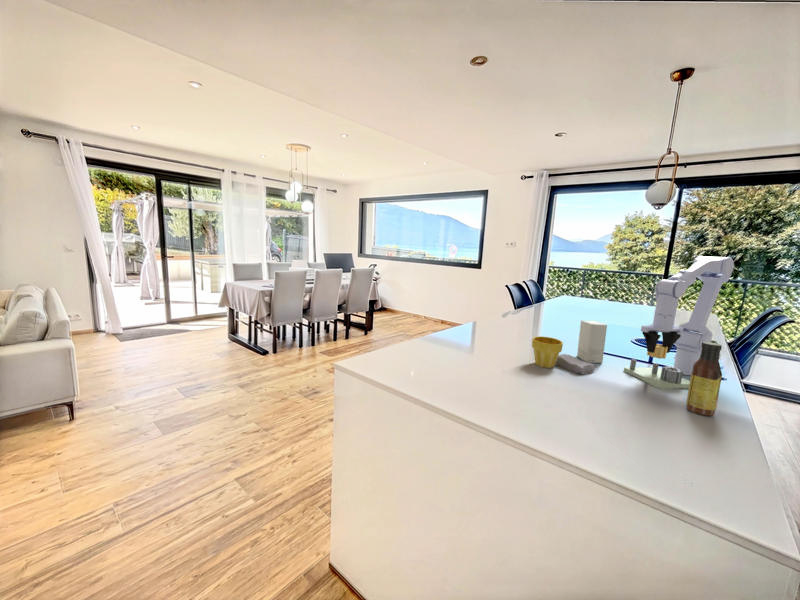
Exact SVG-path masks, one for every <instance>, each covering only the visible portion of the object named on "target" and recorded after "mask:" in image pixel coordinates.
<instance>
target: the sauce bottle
mask: <svg viewBox="0 0 800 600" xmlns="http://www.w3.org/2000/svg"><path fill="white" fill-rule="evenodd" d="M701 347H702V351H701V355H700V358H699V360H698V361H696V362H695V363H694V365H693V370H692V373H691V375H690V380H689V381H690V385H689V388H688V392H687V397H686V404H685V407H686V409H688V411H690V412H692V413H695V414H698V415H701V416H707V417H712V416H714V414H715V411H716V410H717V404H718V399H719V394H720V391H721V390H720V388H721V383H722V378H723V373H722V369H721V365H720V361H719V360H720V358H719V357H720V353H721V350H722V348H723V347H722V345H721V344H720V343H716V342H712V341H711V342H702V345H701Z"/></svg>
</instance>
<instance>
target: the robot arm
mask: <svg viewBox="0 0 800 600" xmlns="http://www.w3.org/2000/svg"><path fill="white" fill-rule="evenodd" d="M734 268H735V263H734V259H733V258H732V257H730V256H727V257H726V256H706V255H705V256H703V255H698V256H697V257H696V258H694V260H693V263H692V265H691V266H690V267H688V269H680V270H678V272H676V273H675V274H673V275H672V276H671V277H669V278H667V279H665V278H664V279H661V280H659V281H658V282H657V283H656V286H655V287H654V291H655V300H656V302H655V303H656V305H655V310H654V315H653V320H652V321H653V322H652V323H651V324H647V325H641V328H640V331H641V332H642V335H643V337H644V340H645V345H646V351H649V352H651V353H654V351H655V347H656V344H658V341H659V340H660V338H661V335H662V344H661V345H663V346H667V347H668V349H667V353H666V354H669V353H670V351H671V349H672V347H673V346H674V345H675V347H676V352H675V358H674V363H673V366H671V365H670V366H669V365H667V366H666V367H674V368H676V369H680V370H681V371H683V375H685V376H691V373H692V370H693V365H694V363H695V362H696V361H698V360H699V358H700V355H701V351H702V347H701V345H702V342H712V337H713V333H712V331H711V330H710V329H709V327H707V326H706V325H707V323H708V321H709V319H710V315H711V313H712V311H713V308H714V305H715V304H716V300H717V298H718V295H719V293H720V291H721V288H722V285H723V284H724V283H728V282H729V280H730V278H731V277H732V273H733V271H734ZM696 279H698V280H700V281H702V282H703V285H702V286H701V290H700V292H699V295H698V297H697V299H696V301H695V305H694V307H693V308H692V309H693V310H692V313H691V314H690V318H689V320H688V321H687V322H685V323H682V324H679V326H674V325H675V320H676V315H677V310H678V309H677V308H678V305H679V299H680V298H682V297H683V295H684V294H685V292H686V291H687V288H688V287H690V286H691V285H693V284H694V283H695V282H696ZM658 333H661V334H658Z"/></svg>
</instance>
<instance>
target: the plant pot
mask: <svg viewBox="0 0 800 600" xmlns="http://www.w3.org/2000/svg"><path fill="white" fill-rule="evenodd" d="M531 342H532V343H531V346H532V347H531V348H533V356H534V364H535V365H536V366H538V367H540V368H546V369H552V368H554V367H555V363H556V360H557V358H558V355H560V353H561V352H562V350H563V347H564V346H563V345H564V343H563V342H562V341H561V340H560V339H558V338H554V337H549V336H542V335H541V336H534V337H532V341H531Z"/></svg>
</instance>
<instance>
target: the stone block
mask: <svg viewBox="0 0 800 600" xmlns="http://www.w3.org/2000/svg"><path fill="white" fill-rule="evenodd" d="M555 365H556V366H557V367H560V368H563V369H565V370H568V371H570V372H572V373H574V374H578V375H581V374H582V375H585V373H586V374H591V373H593V372H594V370H595V363H589V362H586V361H584V360H580V359H579V358H577V357H574V356H572V355H570V354H566V353H561V354H559V355H558V358H557V360H556V363H555ZM555 365H554V366H555Z"/></svg>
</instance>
